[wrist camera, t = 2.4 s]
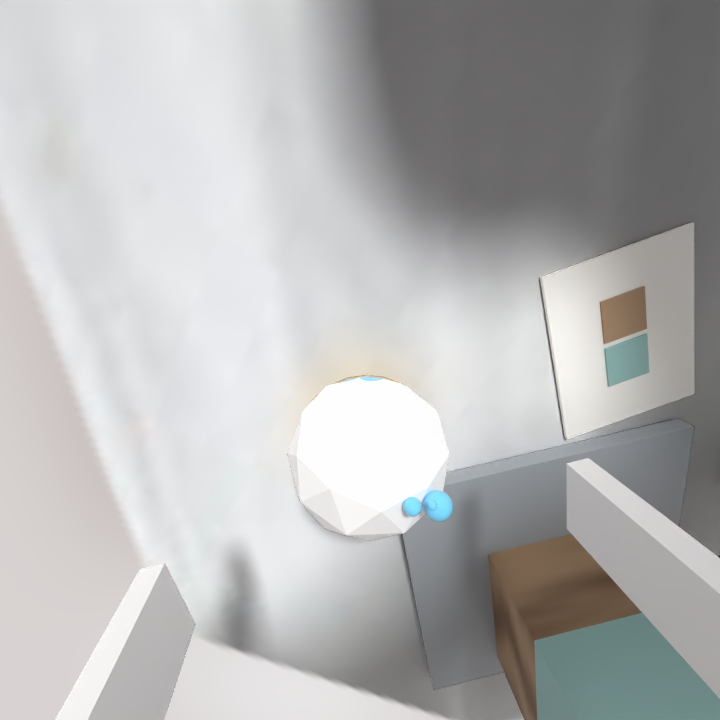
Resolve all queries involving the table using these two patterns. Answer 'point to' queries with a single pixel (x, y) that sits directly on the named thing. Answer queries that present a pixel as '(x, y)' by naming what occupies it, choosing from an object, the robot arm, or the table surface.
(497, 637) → the brick bottom
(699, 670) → the robot arm
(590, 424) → the page
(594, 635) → the brick top
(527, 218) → the table surface
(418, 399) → the ornament
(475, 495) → the baseplate
